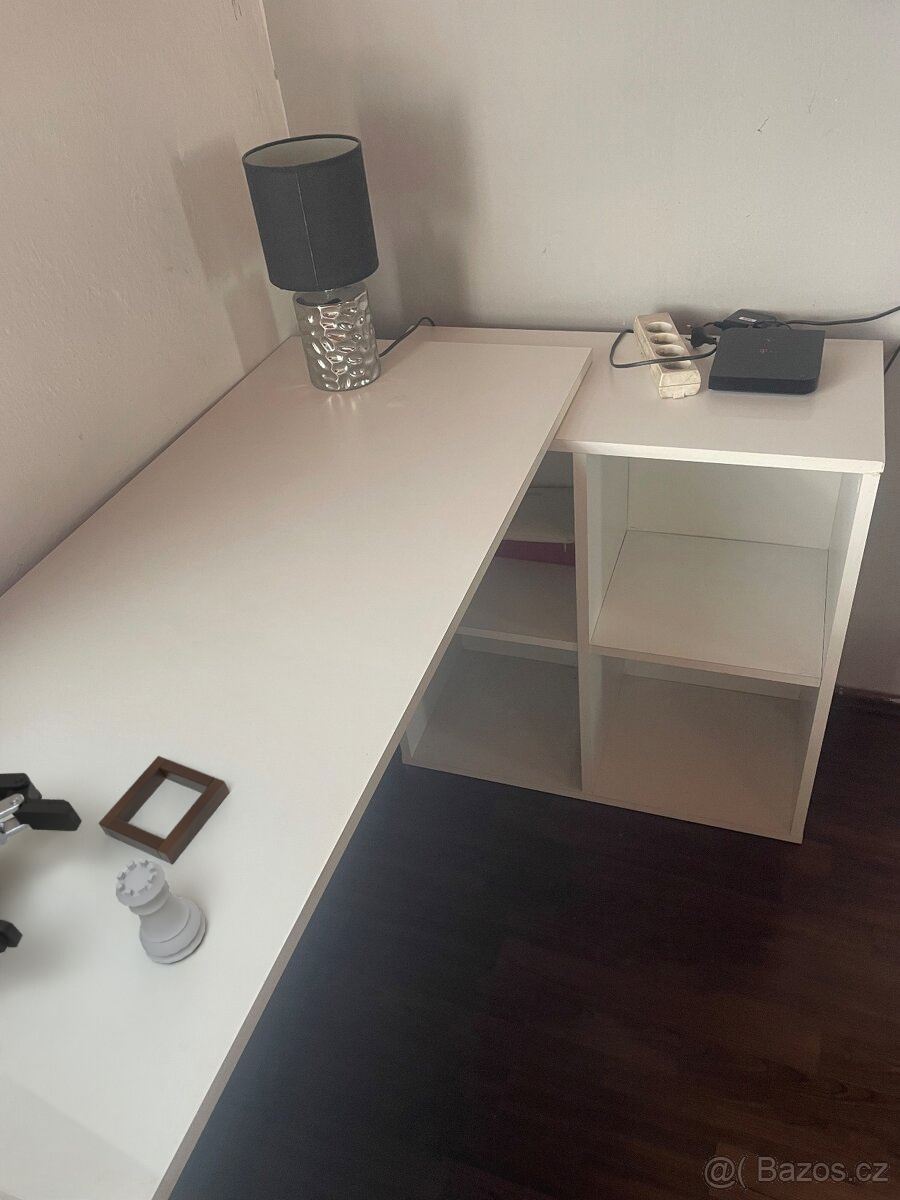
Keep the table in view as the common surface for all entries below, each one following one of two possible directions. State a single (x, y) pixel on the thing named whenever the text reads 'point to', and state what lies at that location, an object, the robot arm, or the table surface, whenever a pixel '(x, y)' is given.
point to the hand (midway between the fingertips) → (46, 872)
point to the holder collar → (186, 827)
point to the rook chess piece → (160, 912)
